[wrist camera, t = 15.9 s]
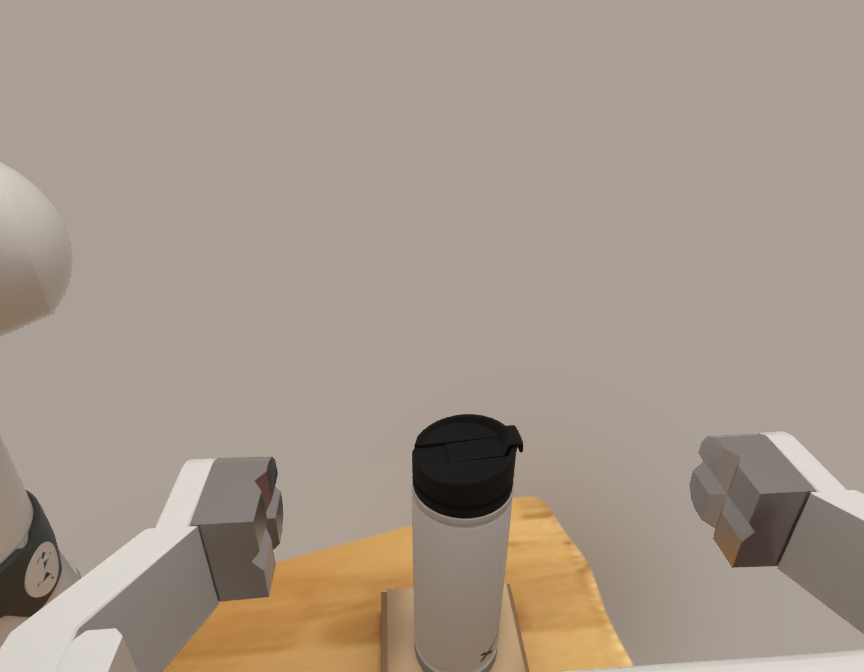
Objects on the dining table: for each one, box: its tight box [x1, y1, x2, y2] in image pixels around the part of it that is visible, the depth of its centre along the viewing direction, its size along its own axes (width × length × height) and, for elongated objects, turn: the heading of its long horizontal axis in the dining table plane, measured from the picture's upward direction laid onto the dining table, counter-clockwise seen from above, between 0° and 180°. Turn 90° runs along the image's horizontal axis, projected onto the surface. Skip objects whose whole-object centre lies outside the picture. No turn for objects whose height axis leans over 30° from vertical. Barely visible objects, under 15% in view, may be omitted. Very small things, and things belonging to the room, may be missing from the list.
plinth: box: [381, 582, 529, 672], centre depth 44 cm, size 11×11×4 cm
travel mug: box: [412, 414, 523, 672], centre depth 38 cm, size 6×7×20 cm
